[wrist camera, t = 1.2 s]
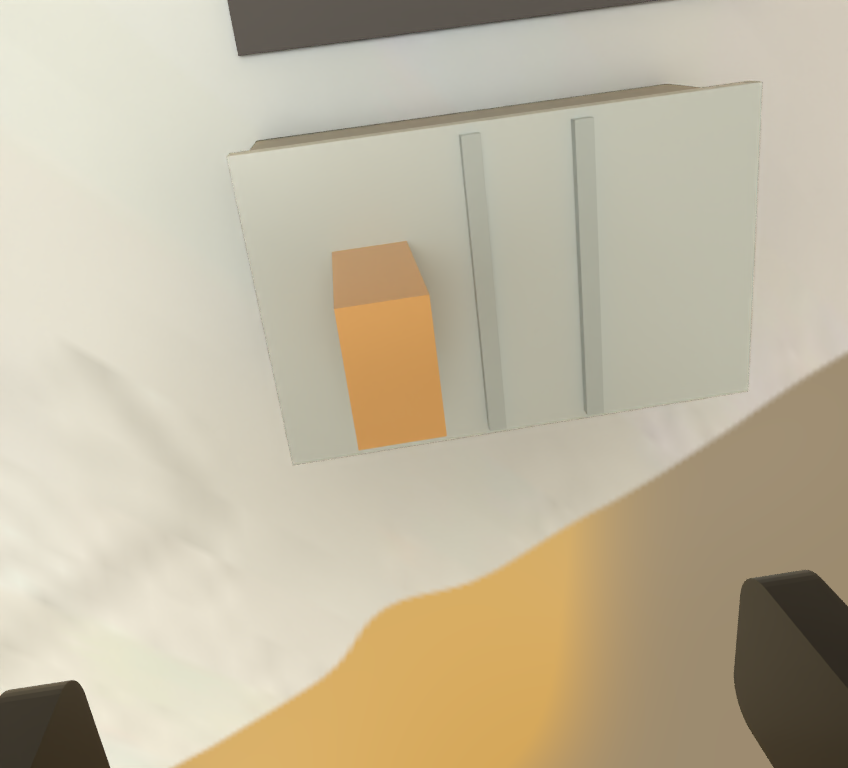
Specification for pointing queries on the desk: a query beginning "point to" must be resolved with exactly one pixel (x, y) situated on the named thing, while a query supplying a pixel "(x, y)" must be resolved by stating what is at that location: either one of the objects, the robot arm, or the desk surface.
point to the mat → (375, 18)
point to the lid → (505, 268)
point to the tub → (467, 115)
